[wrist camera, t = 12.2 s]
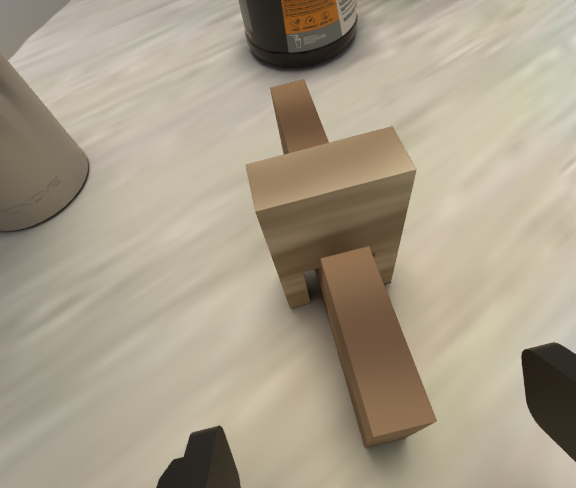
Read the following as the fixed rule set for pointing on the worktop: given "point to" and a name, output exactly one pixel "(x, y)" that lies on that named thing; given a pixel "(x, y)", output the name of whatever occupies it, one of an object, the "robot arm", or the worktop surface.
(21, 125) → the robot arm
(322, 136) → the walnut board
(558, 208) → the worktop surface
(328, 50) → the supplement container
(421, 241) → the worktop surface
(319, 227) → the wooden arch block
